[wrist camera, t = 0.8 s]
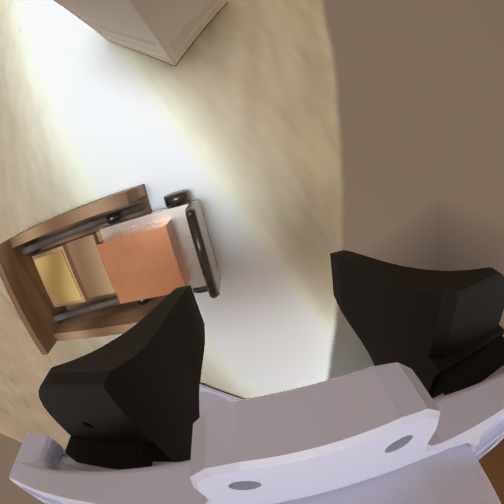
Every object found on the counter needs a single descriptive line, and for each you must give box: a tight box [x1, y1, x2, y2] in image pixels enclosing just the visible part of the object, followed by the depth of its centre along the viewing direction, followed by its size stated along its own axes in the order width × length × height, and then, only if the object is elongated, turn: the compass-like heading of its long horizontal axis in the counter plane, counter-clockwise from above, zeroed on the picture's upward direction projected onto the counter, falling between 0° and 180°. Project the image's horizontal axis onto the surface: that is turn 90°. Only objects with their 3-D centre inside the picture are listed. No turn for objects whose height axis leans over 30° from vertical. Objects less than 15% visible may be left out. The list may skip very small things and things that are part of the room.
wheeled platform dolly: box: [97, 190, 220, 305], centre depth 19 cm, size 8×8×5 cm
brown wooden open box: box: [0, 184, 169, 355], centre depth 18 cm, size 13×10×6 cm
